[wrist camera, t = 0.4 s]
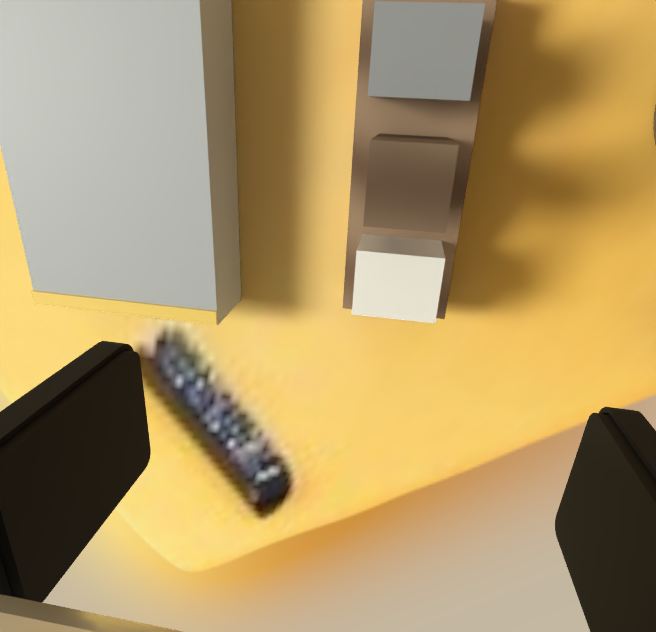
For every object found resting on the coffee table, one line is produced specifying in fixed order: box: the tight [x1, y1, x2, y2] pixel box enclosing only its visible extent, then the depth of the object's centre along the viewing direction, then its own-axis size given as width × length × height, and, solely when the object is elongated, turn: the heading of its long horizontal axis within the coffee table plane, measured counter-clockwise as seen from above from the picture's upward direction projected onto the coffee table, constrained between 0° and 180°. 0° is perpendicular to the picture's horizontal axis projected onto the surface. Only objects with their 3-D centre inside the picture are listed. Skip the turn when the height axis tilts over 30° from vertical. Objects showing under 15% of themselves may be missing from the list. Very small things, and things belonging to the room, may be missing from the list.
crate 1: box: [368, 1, 485, 102], centre depth 24 cm, size 4×5×4 cm
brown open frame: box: [343, 0, 497, 319], centre depth 27 cm, size 19×7×10 cm, turn 177°
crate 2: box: [352, 234, 445, 323], centre depth 29 cm, size 4×5×4 cm
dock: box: [0, 0, 241, 325], centre depth 31 cm, size 22×14×5 cm, turn 177°
